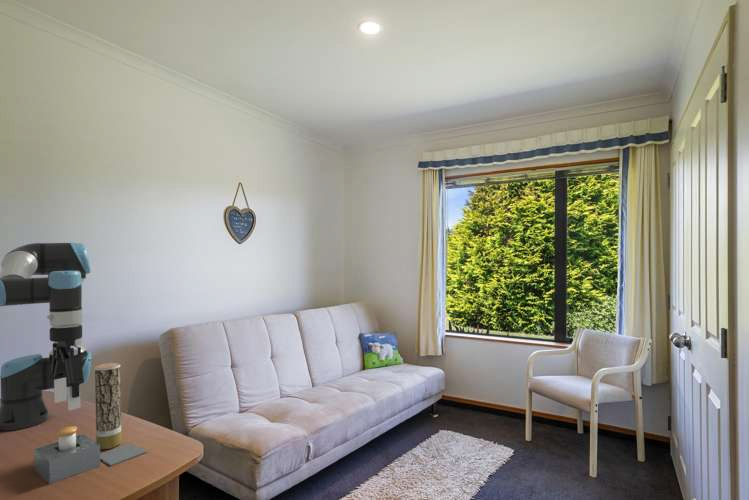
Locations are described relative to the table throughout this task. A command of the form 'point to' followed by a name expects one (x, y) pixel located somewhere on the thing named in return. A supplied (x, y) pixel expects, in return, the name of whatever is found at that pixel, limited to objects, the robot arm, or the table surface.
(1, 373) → the robot arm
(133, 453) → the mat
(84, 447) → the block
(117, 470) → the table surface
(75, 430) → the plunger
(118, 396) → the paper tube
